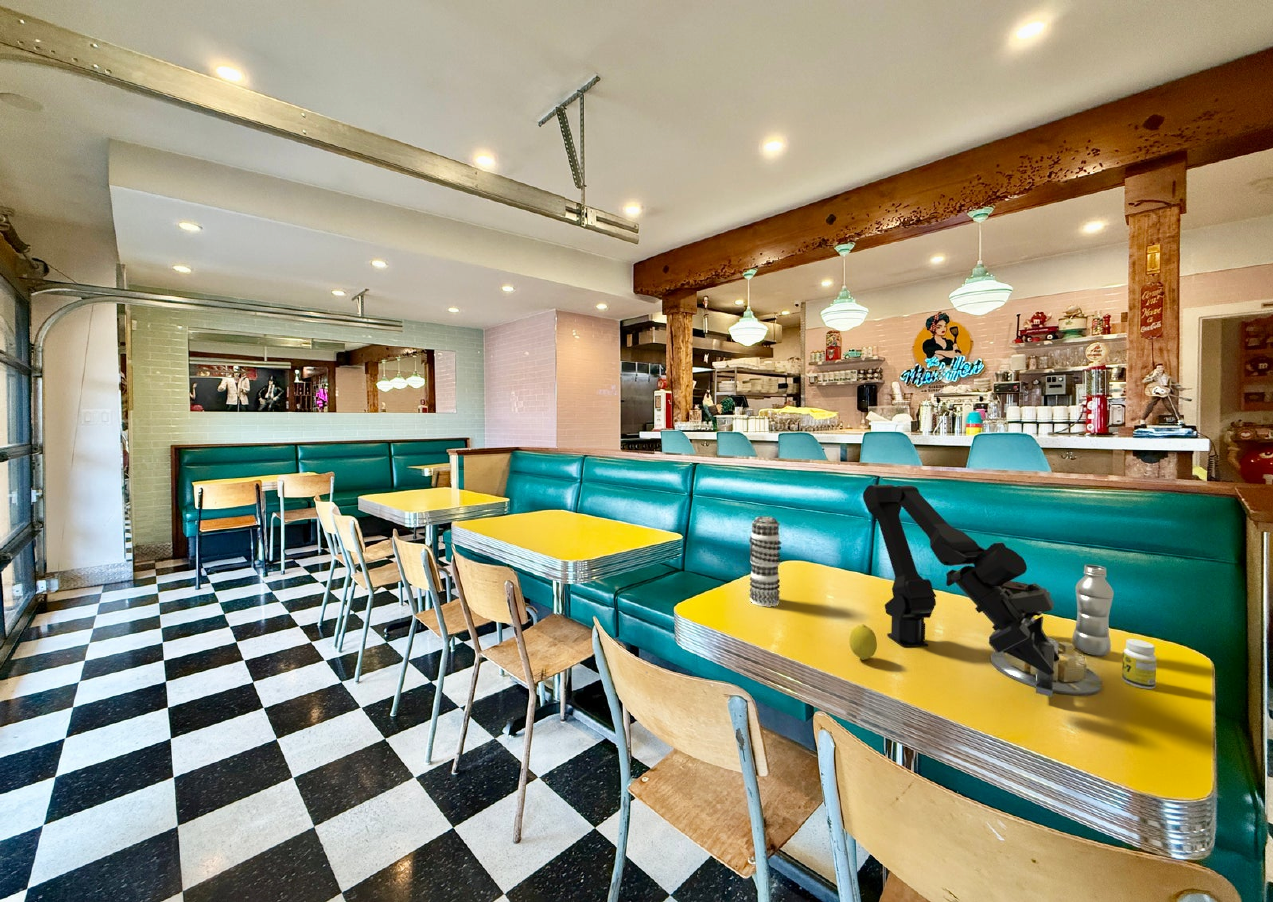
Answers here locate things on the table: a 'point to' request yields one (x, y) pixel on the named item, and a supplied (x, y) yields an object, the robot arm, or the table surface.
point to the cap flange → (1069, 688)
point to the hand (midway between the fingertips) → (1054, 666)
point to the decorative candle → (765, 562)
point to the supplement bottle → (1139, 664)
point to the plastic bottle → (1093, 612)
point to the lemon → (863, 642)
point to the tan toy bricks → (1054, 666)
